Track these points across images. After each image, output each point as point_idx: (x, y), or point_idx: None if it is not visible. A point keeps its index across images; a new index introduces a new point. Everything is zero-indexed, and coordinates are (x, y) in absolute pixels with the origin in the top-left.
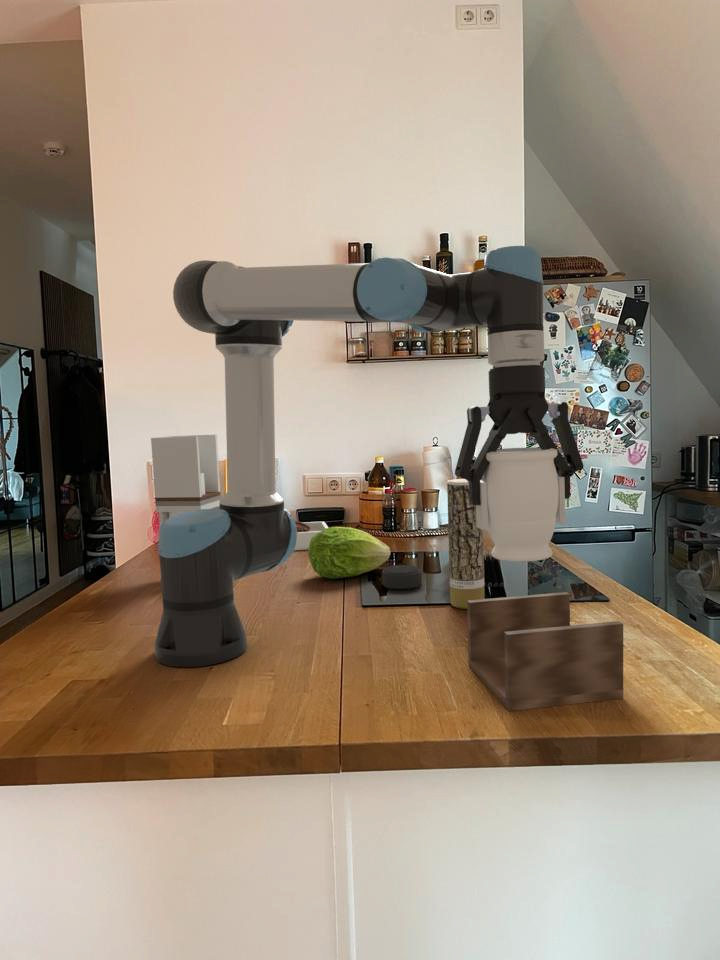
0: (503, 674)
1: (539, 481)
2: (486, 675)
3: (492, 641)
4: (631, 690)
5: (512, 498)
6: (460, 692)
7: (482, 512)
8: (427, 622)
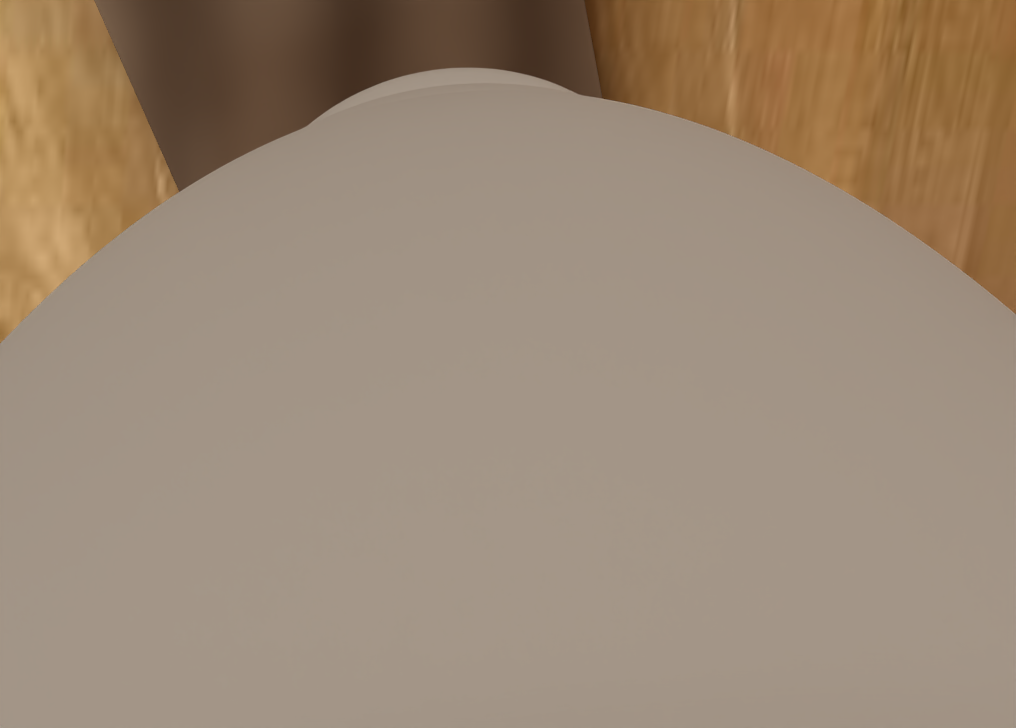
0: None
1: (128, 349)
2: (593, 92)
3: None
4: (42, 18)
5: (750, 154)
6: (697, 3)
7: None
8: None
